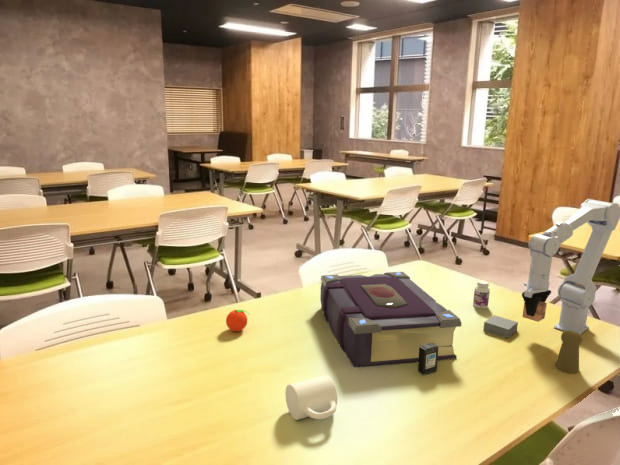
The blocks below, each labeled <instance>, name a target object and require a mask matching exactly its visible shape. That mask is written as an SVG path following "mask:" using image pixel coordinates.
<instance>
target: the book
mask: <svg viewBox="0 0 620 465" xmlns="http://www.w3.org/2000/svg"><path fill="white" fill-rule="evenodd" d="M320 282H321V284H320V305H321V306H320V308H321V310H322V312H323V313H322V314H323V317H324V319H325V321H326V322H327V324H328V326H329V328H330V330H331V333H332V334H333V336H334V338H335V339H336V341H337V344H338V345H339V346H340V349H341V350H342V351H343V352H344V353H345V355H346V357H347V358H348V359H349V362H350V363H351V365H352V366H353V367H354V368H368V367H382V366H390V365H391V366H392V365H401V364H411V363H413V364H414V363H418V361H419V348H420V346H422V345H426V344H428V343H434V344H436V345H437V346H438V361H446V360H447V361H448V360H456V359H457V355H456V354H455V350H454V346H453V344H454V335H455V334H454V332H455V330H456V328H459V327H462V320H461V319H460V317H458V315H456V313H454V312H452V311H451V310H450V309H446V307H445V306H443V305H441V304H440V303H439V302H437V301H436V300H435V299H434V298H433V297H432V296H431V295H429V293H427V292H426V291H425V290H424V289H423V288H421V287H420V286H418V285H417V284H416V283H415V282H414V281H413V280H411V277H410V276H409V275H408V274H407V273H405V272H404V271H389V272H384V273H380V274H379V273H378V274H377V273H376V274H372V275H370V276H369V275H363V274H355V275H339V274H325V275H324V274H323V275H321V276H320Z"/></svg>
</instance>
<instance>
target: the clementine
mask: <svg viewBox="0 0 620 465" xmlns="http://www.w3.org/2000/svg"><path fill="white" fill-rule="evenodd" d="M246 313H247V314H249V312H248V311H246V310H245V309H244V310H243V309H234V310H232V311H229V313H228V314H227V316H226V319H225V323H226V326H227V328H228V329H229V330H231V331H232V332H241V331H242V330H244V329H245V328H246V327H247V324H248V316H247V314H246Z"/></svg>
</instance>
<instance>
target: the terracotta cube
mask: <svg viewBox="0 0 620 465" xmlns="http://www.w3.org/2000/svg"><path fill="white" fill-rule="evenodd" d="M523 302H524V301H523ZM547 304H548V303H547V302H546V301H545V302H541V301H540V302H539V304H538V306H537V309H536V312H535V315H534V316H529V315H527V314H526V306H525V302H524V303H523V310H522V318H524V319H528V320H531V321H534V322H538V323H539V322H541V321H542V320H544V319H545V317H546V310H547Z"/></svg>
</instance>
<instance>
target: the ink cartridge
mask: <svg viewBox="0 0 620 465" xmlns="http://www.w3.org/2000/svg"><path fill="white" fill-rule="evenodd" d="M438 361H439V360H438V346H437V345H436V344H434V343H428V344H426V345H422V346H420V348H419V361H418V362H417V363H418V366H417V372H418V373H420V374H421V375H422V376H426V375H429V374H433V373H436V372H437V371H438Z"/></svg>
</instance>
